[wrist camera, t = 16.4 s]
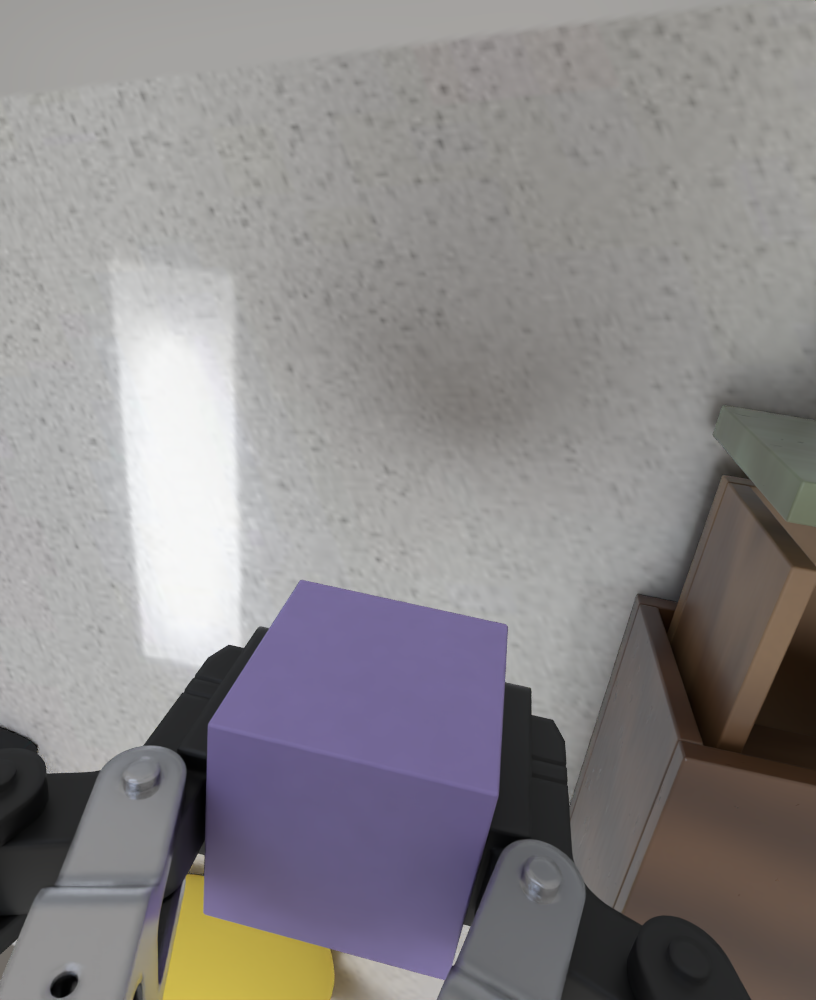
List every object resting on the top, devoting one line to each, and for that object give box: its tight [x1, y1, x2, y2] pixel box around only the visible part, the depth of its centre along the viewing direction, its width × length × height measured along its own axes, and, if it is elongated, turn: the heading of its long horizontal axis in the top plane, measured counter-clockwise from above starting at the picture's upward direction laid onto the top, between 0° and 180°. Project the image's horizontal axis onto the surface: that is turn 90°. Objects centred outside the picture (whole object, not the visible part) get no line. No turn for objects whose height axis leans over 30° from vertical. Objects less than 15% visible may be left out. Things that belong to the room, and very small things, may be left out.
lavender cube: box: [203, 580, 508, 980], centre depth 12 cm, size 4×4×4 cm
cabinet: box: [569, 595, 816, 1000], centre depth 26 cm, size 15×13×10 cm
